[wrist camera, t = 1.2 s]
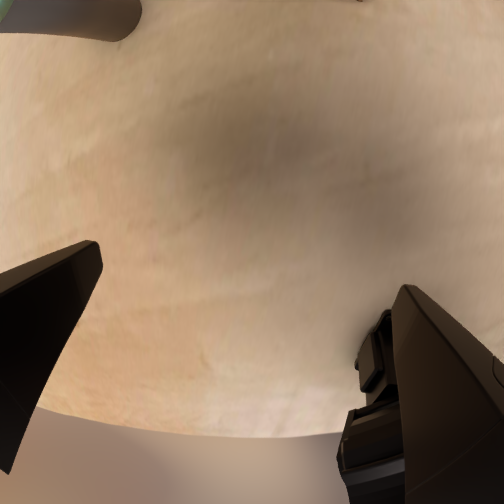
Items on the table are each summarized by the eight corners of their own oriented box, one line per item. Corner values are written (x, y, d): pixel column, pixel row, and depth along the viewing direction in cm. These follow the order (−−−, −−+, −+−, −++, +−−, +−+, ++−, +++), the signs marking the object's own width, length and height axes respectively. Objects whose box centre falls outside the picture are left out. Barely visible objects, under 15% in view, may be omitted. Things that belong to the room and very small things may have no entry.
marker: (147, -9, 15) (17, -56, 4) (135, 41, 17) (-8, 24, 6) (102, -4, 15) (-25, -29, 5) (92, 43, 17) (-44, 41, 7)
